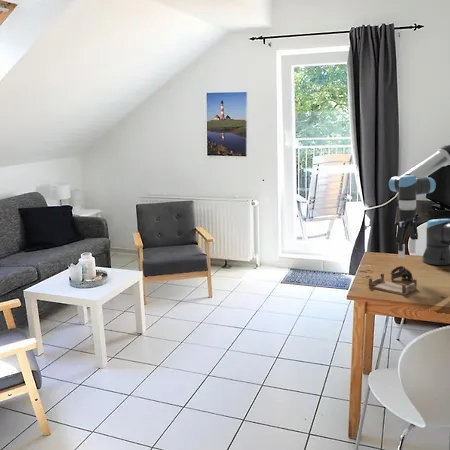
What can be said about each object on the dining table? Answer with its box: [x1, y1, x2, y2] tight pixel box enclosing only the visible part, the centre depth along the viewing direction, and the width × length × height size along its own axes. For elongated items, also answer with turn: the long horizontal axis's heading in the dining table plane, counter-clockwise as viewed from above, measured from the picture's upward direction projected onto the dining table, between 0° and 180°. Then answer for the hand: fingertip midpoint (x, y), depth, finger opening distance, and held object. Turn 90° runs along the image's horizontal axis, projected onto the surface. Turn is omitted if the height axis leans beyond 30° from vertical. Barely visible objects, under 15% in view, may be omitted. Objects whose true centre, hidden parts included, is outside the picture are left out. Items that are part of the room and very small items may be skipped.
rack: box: [368, 273, 418, 296], centre depth 222 cm, size 12×17×4 cm
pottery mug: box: [390, 265, 414, 283], centre depth 234 cm, size 12×9×8 cm
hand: (407, 255), depth 230 cm, fingers open, 10 cm apart
